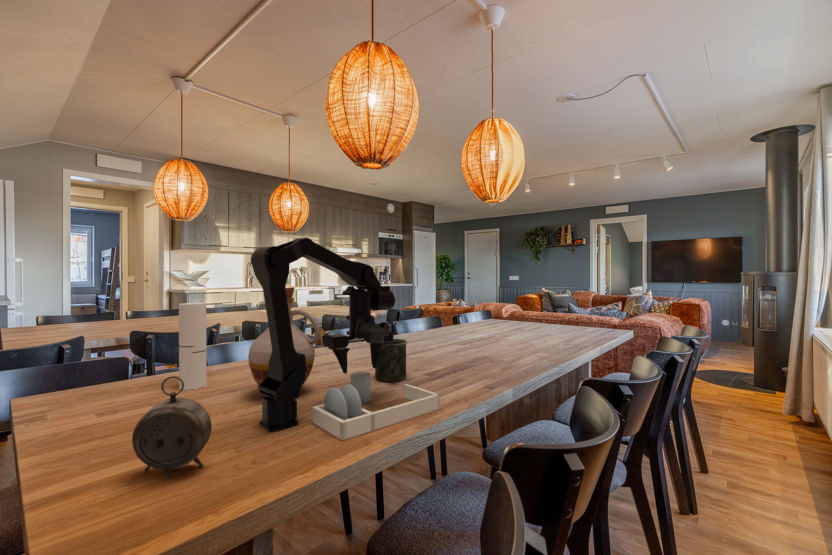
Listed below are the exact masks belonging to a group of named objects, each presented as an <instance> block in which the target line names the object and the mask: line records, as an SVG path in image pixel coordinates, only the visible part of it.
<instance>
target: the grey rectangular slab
mask: <svg viewBox="0 0 832 555" xmlns="http://www.w3.org/2000/svg"><path fill="white" fill-rule="evenodd" d="M350 385H352V386H354V387H355V388H356V390H357V391H358V393H359V396H360V399H361V403H362V404H367V403H370V402H371V373H370V372H367V371H355V372H352V373H350Z"/></svg>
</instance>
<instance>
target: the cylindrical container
mask: <svg viewBox="0 0 832 555" xmlns="http://www.w3.org/2000/svg"><path fill="white" fill-rule="evenodd" d="M178 345H179V346H178V370H179V371H178V374H179V376H178V377H179V378H181V379H182V380H183V382H184V388H183V390H182V391H192V390H191V389H194V390H199V389H198V388H200V389H202V388H201V387H203V388H205V387H206V386H207V378H208V376H207V375H208V374H207V370H208V369H207V365H208V364H207V362H208V361H207V302H186V303H185V302H184V303H178ZM178 381H179V383H178V386H179V388H178V389H179V390H180V389H181V388H182V383H181V381H180V380H179V379H178ZM204 386H205V387H204Z"/></svg>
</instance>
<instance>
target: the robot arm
mask: <svg viewBox="0 0 832 555" xmlns="http://www.w3.org/2000/svg"><path fill="white" fill-rule="evenodd" d="M301 258H304V259H306V260H308V261H311V263H315V264H317V265H318V266H320V267H322V268H325V269H327V270H329V271H331V272H333V273H335V274H337V275H338V277H339V278H340V279H341V280H342V281H343V282H344V283H346V284H348V286H347V287H346V288H345V289H344V290H343V291H342V293H341V294H342V295H343V296H348V297H349V298H348V299H349V300H348V301H349V304H348V305H349V307H348V308H349V310H348V313H349V315H346V320H348V325H349V326H348V327H349V328H348V330H346V334H345V335H344V334H340V333H335V334H326V335H325V337H324V338H323V347H327V348H328V349H329V350H331V351H332V352H333V354H334V356H335V357H336V360H337V362H338V364H339V367H340V369H341V371H342V373H343V374H344V375H347V374H348V353H349V351H350V348H349V347H348V346H349V344H354V343H360V342H362V343H363V342H365V343H368V344H369V347H370V358H371V366H372V368H373V369H375V368H376V367H377V364H378V361H379V358H380V355H381V352H382V350H383V348H384V347H385V346H386V345H389V344H390V342H389V341H394V339H395V337H394V335H395V334H394V333H393V331H392V330H390V329H391V328H390V323H389V322H387V321H383V322H380V323H376V322H375V316H374V315H372V311H373V312H375V311H376V312H378V311H386V310H391V309H393V308H394V306H395V304H396V298H395V295H394V293H393V291H391V286H390V285H382V284H381V282H380V281H379V279H378V278H377V276H376V273H375V269H374V268H373V266H372V265H370V264H367V263H363V262H360V261H354V260H349V259H347V258H345V257H343V256H341V254H337V253H336V252H334V251H332V250H330V249H329V248H326V247H324V246H323V245H320V244H319V243H317V242H314V241H313V240H312V239H311V238H309V237H307V236H305V237H298V238H297V237H296V238H294V239H293V240H290V241H288V242H285V243H281V244H279V245H271V246H263V247H259V248H257V249H255V250H254V251H253V253H252V254H251V257H250V263H251V267H252V269H253V273H254V275H255V278H256V279H257V282H258V283H259V284H260V286H261V288H262V292H263V297H264V303H265V304H264V305H265V311H266V312H265V313H266V318H267V324H268V327H269V332H270V339H271V345H272V353H271V356H270V360H269V367H268V375H267V376H266V377H265V379H264V380H263V381H262V382H261V383H260V385H258V386H257V389H258V392H259V395H260V396H263V397H262V399H261V400H262V403H261V404H262V408H261V409H262V412H261V414H262V416H261V417H262V419H261V420H260V421H259V424H260V425H261V426H262V427H263V428H265V429H266V430H267V431H268V432H275V431H278V430H281V429H284V428H290V427H293V426H296V425H299V421H298V420H297V419H298V401H297V400H296V399H298V398H299V395H300V392H301V389H302V387H303V385H304V384H303V382H304V381H305V379H306V372H308V370H307V368H306V358H305V354H301V353H297V352H296V350H295V348H294V343H293V336H292V329H291V322H290V315H289V308H288V301H287V294H286V288H287V287H286V285H287V282H288V278H289V274H290V265H291V263H294V262H296V261H298V260H299V259H301ZM305 382H306V381H305ZM302 384H303V385H302ZM301 386H302V387H301Z"/></svg>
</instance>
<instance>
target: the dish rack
mask: <svg viewBox="0 0 832 555" xmlns="http://www.w3.org/2000/svg"><path fill="white" fill-rule="evenodd" d="M403 398H404V399H406V400H409V401H408V402H407V401H406V402H403V403H401V404H397V405H394V406H390V407H385V408H383V409H380V410H379V409H378V410H376V411H370V410H367V409H365V408H364V407H363V405H362V403H361V399H360V396H359V393H358V391H357V390H356V388H355V387H354V386H352V385H351V383H350V384H344V385H343V386H342V387H341V388H340V389H339V388H338V387H330V388H329V389H327V391H326V393H325V396H324V401H323V404H319V405H314V406H312V407H311V418H312V419H311V423H312V424H314V425H316V427H319V428H321V429H322V430H324V431H325V432H328V433H329V434H330V435H333V437H335V438H337V439H339V440H341V441H345V440H349V439H352V438H355V437H358V436H360V435H361V436H362V435H363V434H367V433H370V432H373V431H376V430H379V429H381V428H385V427H388V426H391V425H396V424H398V423H401V422H404V421H407V420H410V419H413V418H416V417H419V416H422V415H426V414H429V413H432V412H435V411H438V410H441V409H442V408H441V405H442V404H441V402H442V399H441V394H440V393H437V392H433V391H430V390H427V389H424V388H420V387H418V386H414V385H411V384H407V383H405V384H404V385H403Z"/></svg>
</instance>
